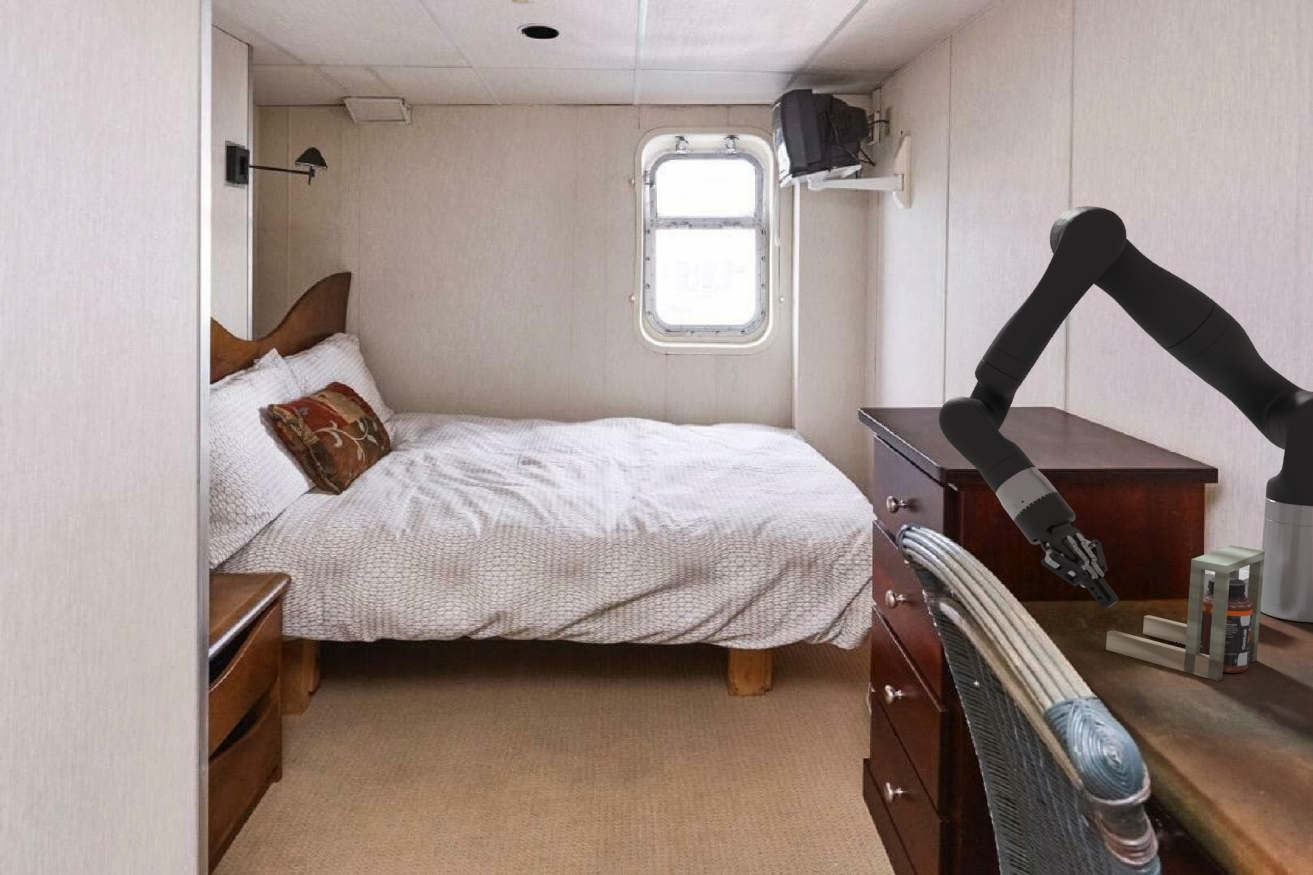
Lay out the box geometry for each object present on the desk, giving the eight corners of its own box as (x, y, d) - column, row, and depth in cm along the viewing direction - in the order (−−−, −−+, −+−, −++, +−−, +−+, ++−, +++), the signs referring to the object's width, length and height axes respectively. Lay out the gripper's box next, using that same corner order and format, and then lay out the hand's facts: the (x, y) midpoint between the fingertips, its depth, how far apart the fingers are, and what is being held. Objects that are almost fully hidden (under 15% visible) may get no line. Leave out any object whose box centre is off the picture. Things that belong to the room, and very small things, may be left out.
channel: (1147, 632, 133) (1153, 531, 132) (1256, 660, 122) (1265, 551, 121) (1106, 649, 127) (1111, 544, 125) (1218, 681, 116) (1226, 565, 114)
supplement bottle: (1258, 675, 117) (1264, 587, 116) (1207, 674, 118) (1213, 586, 116) (1233, 658, 123) (1239, 574, 122) (1185, 657, 124) (1191, 573, 122)
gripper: (1026, 495, 133) (1107, 599, 125) (1076, 484, 141) (1155, 582, 133) (992, 526, 138) (1067, 628, 130) (1041, 513, 146) (1116, 609, 138)
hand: (1111, 604), depth 131 cm, fingers closed
